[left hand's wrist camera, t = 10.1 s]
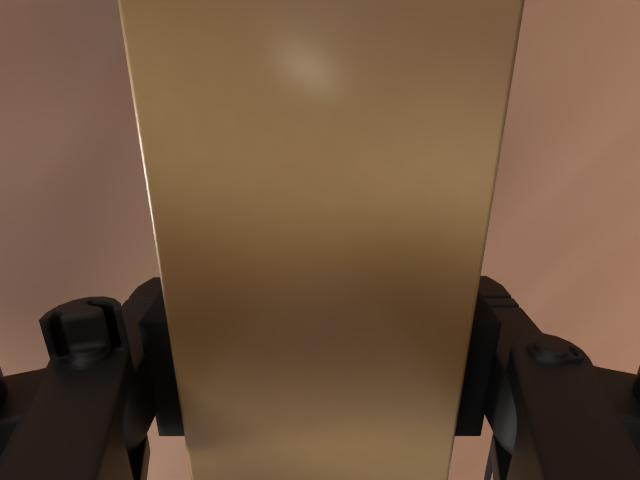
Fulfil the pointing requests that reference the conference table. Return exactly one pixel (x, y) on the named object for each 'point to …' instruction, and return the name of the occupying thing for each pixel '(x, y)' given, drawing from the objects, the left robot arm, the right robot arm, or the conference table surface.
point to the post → (320, 221)
